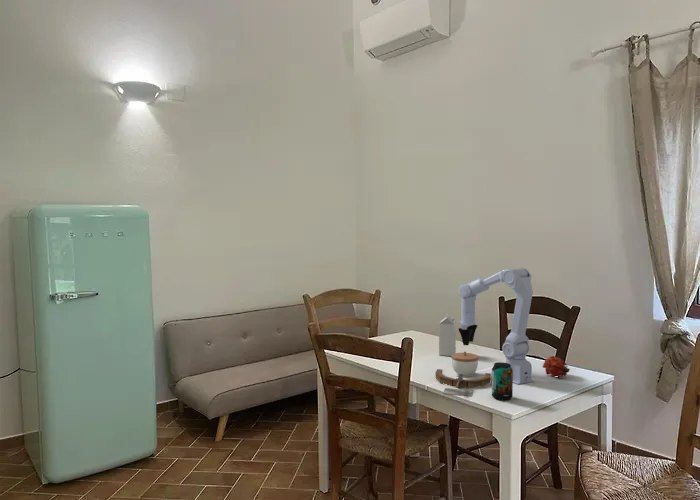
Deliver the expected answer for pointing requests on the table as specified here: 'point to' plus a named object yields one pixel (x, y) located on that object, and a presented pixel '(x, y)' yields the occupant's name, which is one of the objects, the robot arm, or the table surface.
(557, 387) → the table surface
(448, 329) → the milk carton
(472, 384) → the yoke
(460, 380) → the indicator
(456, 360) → the lidded jar
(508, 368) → the beverage can
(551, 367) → the dragon fruit
